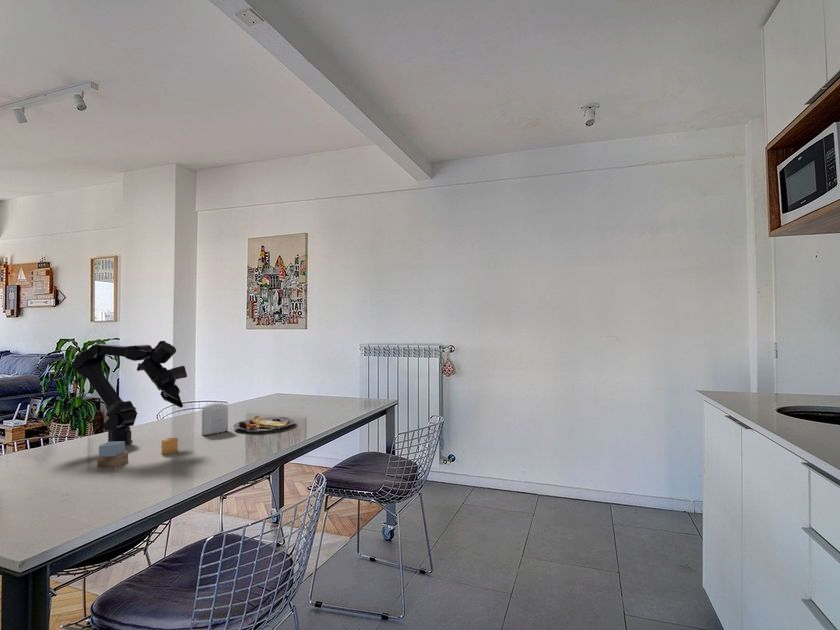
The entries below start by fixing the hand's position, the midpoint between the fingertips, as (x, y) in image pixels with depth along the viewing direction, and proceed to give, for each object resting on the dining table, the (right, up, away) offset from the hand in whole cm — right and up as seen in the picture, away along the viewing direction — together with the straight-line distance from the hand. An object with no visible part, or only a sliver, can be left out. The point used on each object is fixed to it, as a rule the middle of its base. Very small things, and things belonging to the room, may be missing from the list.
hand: (180, 403), depth 161 cm
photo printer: (+3, -17, +21) cm, 27 cm away
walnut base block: (-12, -16, -19) cm, 28 cm away
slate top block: (-12, -13, -19) cm, 26 cm away
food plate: (+20, -17, +30) cm, 40 cm away
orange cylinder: (0, -16, -7) cm, 17 cm away
